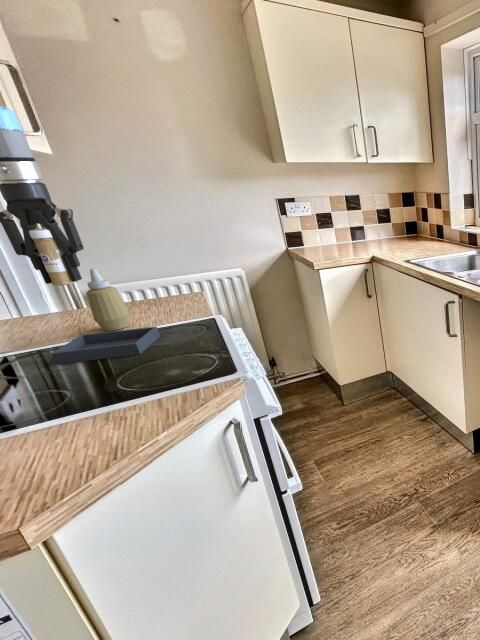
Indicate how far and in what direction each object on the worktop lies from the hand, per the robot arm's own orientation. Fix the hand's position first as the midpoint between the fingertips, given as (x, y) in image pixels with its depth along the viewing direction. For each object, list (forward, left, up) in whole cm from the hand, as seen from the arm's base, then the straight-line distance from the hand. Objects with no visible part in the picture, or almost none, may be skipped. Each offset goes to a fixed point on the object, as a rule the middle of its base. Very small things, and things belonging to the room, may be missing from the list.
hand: (64, 281), depth 106 cm
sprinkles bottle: (0, 0, -1) cm, 1 cm away
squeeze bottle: (-2, +17, -19) cm, 26 cm away
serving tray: (+5, -3, -18) cm, 19 cm away
